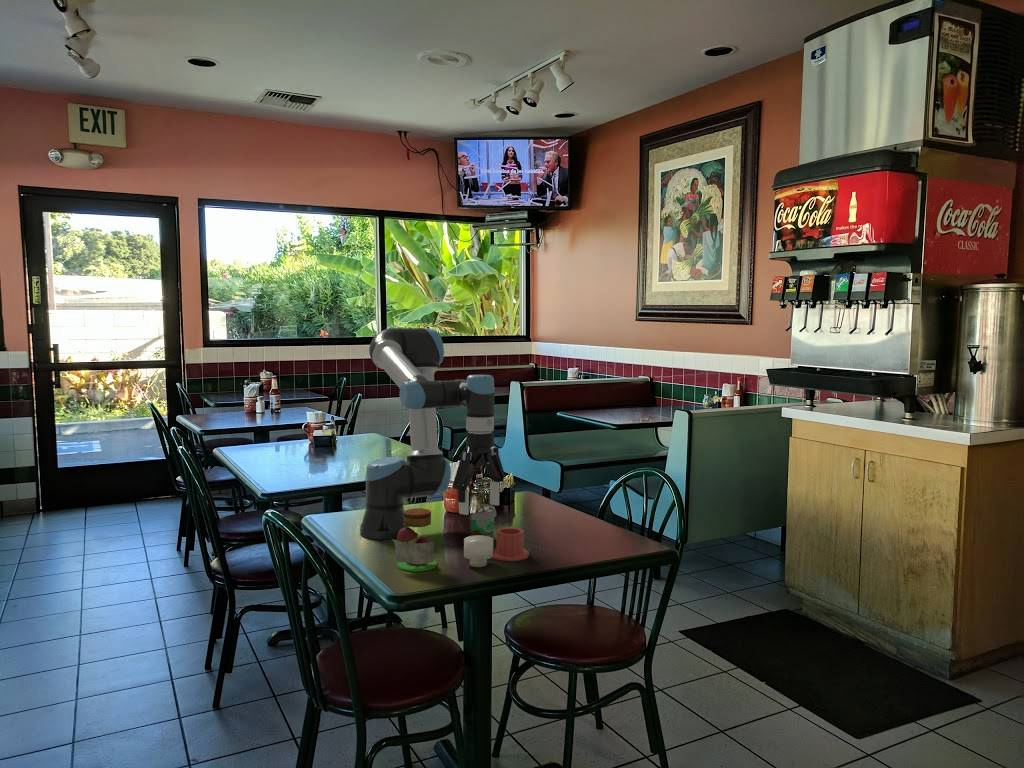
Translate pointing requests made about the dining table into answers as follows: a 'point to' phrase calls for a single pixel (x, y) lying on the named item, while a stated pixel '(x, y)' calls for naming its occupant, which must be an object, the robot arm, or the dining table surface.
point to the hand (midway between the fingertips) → (479, 509)
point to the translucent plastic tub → (418, 552)
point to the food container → (483, 521)
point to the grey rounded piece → (478, 549)
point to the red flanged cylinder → (510, 545)
